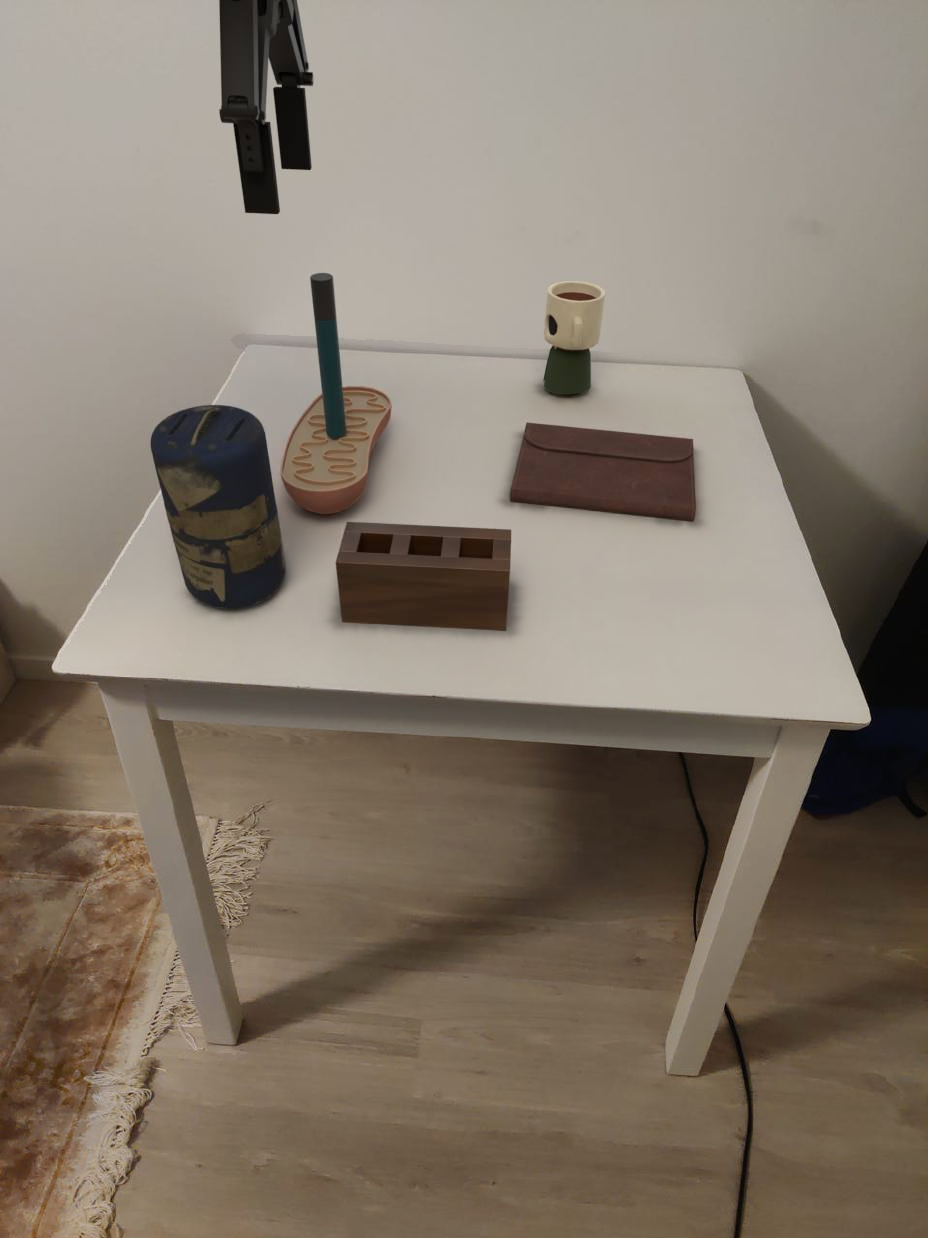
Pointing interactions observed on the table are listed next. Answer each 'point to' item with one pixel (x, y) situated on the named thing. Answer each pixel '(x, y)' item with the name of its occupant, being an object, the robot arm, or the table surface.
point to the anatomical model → (334, 452)
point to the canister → (220, 504)
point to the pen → (328, 353)
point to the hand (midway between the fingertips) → (280, 189)
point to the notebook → (606, 471)
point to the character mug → (571, 334)
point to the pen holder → (424, 575)
